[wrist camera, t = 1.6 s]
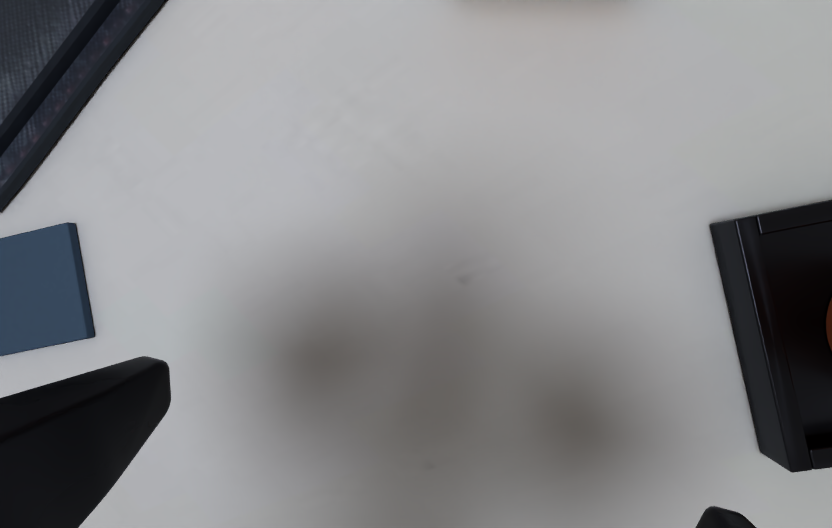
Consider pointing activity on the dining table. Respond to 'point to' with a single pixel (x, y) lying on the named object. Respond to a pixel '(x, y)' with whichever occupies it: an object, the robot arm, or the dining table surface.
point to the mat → (42, 290)
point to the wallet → (54, 71)
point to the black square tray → (783, 326)
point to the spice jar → (829, 324)
